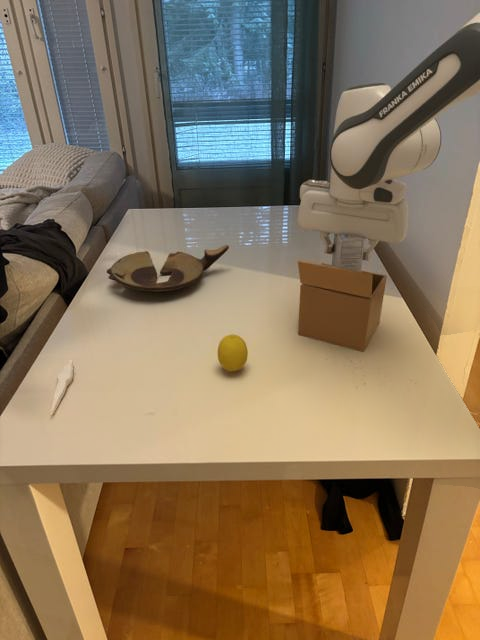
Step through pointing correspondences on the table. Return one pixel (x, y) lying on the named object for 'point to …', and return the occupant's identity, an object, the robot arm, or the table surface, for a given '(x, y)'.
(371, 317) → the cardboard box
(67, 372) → the white tapered rod
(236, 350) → the lemon
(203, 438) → the table surface
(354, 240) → the medicine box
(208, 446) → the table surface
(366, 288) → the flap
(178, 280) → the broken bowl
